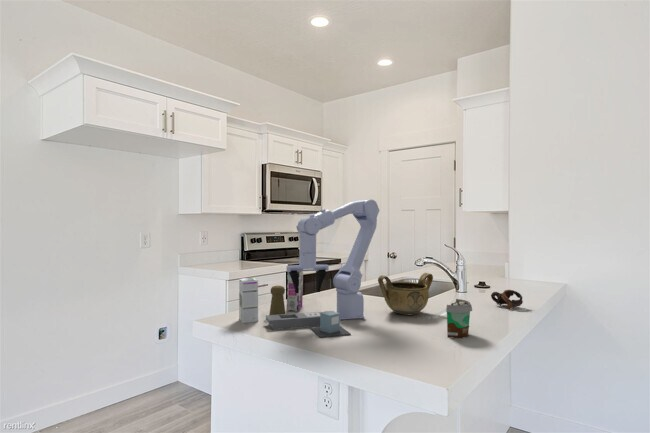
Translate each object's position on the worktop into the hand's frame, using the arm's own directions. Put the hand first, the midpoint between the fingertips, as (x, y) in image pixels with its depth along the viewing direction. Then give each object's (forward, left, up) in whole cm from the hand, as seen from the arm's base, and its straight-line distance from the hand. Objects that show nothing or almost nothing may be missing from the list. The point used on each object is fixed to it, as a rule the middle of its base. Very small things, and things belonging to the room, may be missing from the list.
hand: (307, 292), depth 134 cm
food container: (-42, +28, -11) cm, 51 cm away
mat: (-4, +13, -10) cm, 17 cm away
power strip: (+2, +2, -10) cm, 11 cm away
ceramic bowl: (-40, -3, -11) cm, 41 cm away
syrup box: (+19, -8, -11) cm, 23 cm away
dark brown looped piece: (-86, -1, -11) cm, 87 cm away
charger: (-4, +13, -10) cm, 17 cm away
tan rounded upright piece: (+8, -12, -11) cm, 18 cm away
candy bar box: (-1, -22, -11) cm, 24 cm away
